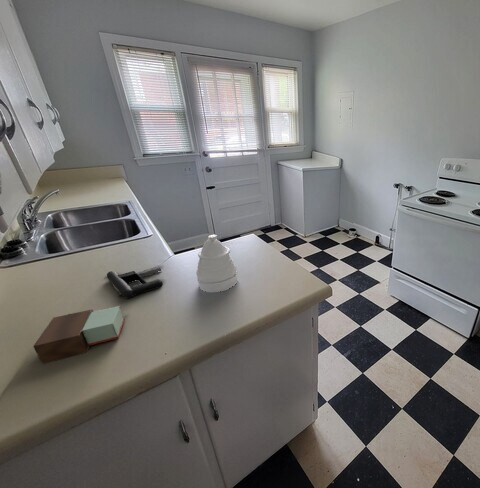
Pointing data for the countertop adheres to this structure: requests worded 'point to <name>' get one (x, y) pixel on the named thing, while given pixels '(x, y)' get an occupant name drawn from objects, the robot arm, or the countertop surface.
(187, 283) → the countertop surface
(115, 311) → the mint and red box
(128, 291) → the door handle
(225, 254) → the honey pot
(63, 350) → the stand
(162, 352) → the countertop surface
